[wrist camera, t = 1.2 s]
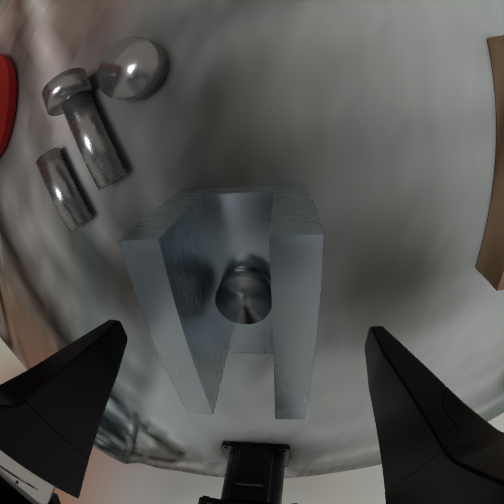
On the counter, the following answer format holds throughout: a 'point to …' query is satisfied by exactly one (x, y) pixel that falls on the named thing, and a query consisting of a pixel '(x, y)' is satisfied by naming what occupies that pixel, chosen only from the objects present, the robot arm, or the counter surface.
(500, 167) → the picture frame
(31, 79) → the counter surface
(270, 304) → the housing
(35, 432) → the robot arm
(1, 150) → the canned food
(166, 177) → the counter surface
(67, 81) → the loose bolts
